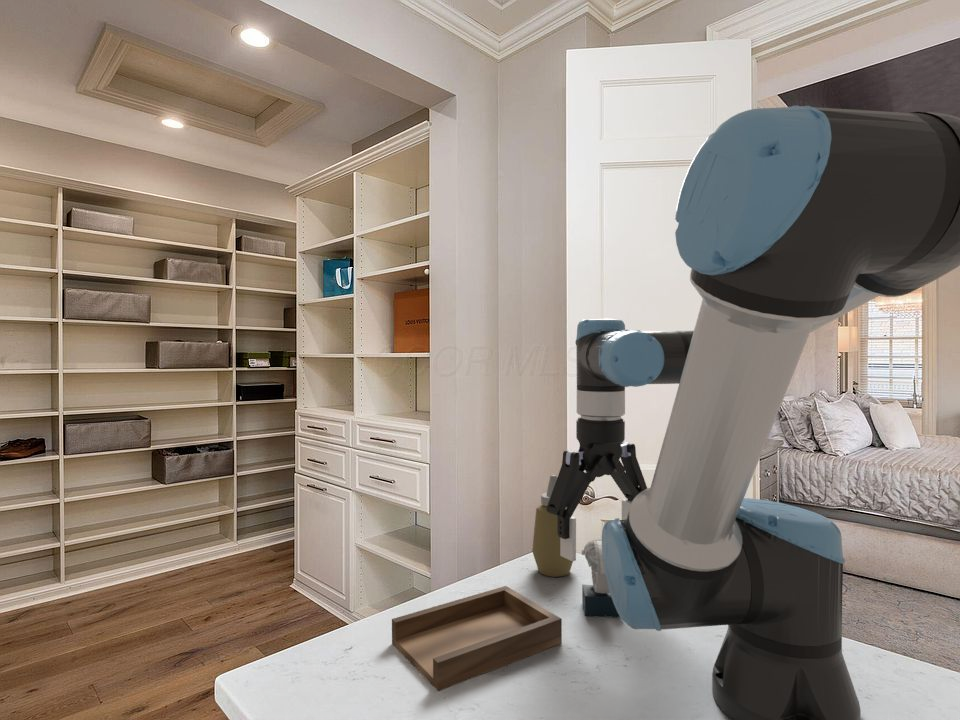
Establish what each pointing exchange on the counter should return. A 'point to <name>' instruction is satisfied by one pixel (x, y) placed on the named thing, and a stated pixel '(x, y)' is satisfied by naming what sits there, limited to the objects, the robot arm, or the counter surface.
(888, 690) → the counter surface
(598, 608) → the watch
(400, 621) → the walnut track
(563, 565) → the squeeze bottle
